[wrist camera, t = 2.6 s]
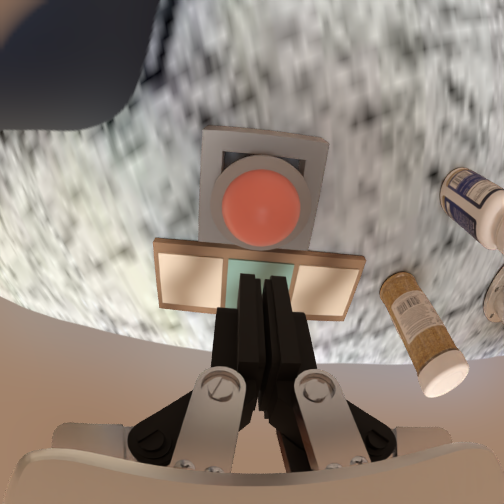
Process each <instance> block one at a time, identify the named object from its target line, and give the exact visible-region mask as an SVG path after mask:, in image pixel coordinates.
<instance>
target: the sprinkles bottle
mask: <svg viewBox="0 0 504 504" xmlns="http://www.w3.org/2000/svg"><path fill="white" fill-rule="evenodd" d="M380 298H381V300H382V301H383V303H384V304H385V306H386V308H387V310H388V312H389V314H390V317H391V319H392V321H393V323H394V326H395V328H396V330H397V332H398V334H399V336H400V338H401V339H402V341H403V343H404V345H405V347H406V349H407V351H408V354H409V356H410V358H411V360H412V362H413V365H414V367H415V369H416V371H417V376H418V382H419V384H420V386H421V389H422V391H423V393H424V394H425V396H427V397H437V396H440V395H443V394H445V393H447V392H449V391H450V390H452V389H454V388H455V387H456V386H457V385H459V384H460V383H461V382H462V381H463V380H464V379H465V377H466V375H467V374H468V371H469V365H468V363H467V361H466V359H465V357H464V355H463V354H462V352H461V351H460V350H459V349H458V348H457V347H456V346H455V344H454V342H453V340H452V338H451V336H450V335H449V333H448V331H447V329H446V327H445V325H444V324H443V322H442V320H441V319H440V317H439V316H438V314H437V312H436V311H435V309H434V308H433V306H432V304H431V303H430V301H429V300H428V298H427V297H426V295H425V294H424V293H423V292H422V290H421V289H420V287H419V286H418V284H417V283H416V280H415V278H414V277H413V275H412V274H410V273H406V272H400V273H397V274H394V275H393V276H391V277H390V278H388V279H387V280H386V281H385V282H384V284H383V285H382V288H381V290H380Z"/></svg>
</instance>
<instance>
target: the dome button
mask: <svg viewBox="0 0 504 504" xmlns="http://www.w3.org/2000/svg"><path fill="white" fill-rule="evenodd" d="M210 210H211V215H212V218H213V221H214V223H215V225H216V227H217V228H218V230H219V231H220V232H221V234H222V235H223V236H224V237H225V238H226V239H228V240H229V241H230V242H232V243H234V244H235V245H237V246H240V247H242V248H246V249H249V250H259V251H263V250H271V249H275V248H278V247H281V246H283V245H286V244H287V243H289V242H291V241H292V240H293V239H294V238H296V237H297V236H298V235H299V234H300V233H301V231H302V230H303V229H304V227H305V225H306V224H307V222H308V219H309V216H310V213H311V194H310V191H309V188H308V186H307V183H306V181H305V180H304V178H303V176H302V175H301V174H300V172H299V171H298V170H297V169H296V168H295V167H294V166H292V165H291V164H290V163H288V162H287V161H285V160H282V159H280V158H277V157H274V156H269V155H252V156H248V157H244V158H242V159H239V160H237V161H235V162H234V163H232V164H231V165H229V166H228V167H227V168H226V169H225V170H224V171H223V172H222V173H221V174H220V176H219V177H218V179H217V180H216V183H215V185H214V187H213V190H212V194H211V199H210Z"/></svg>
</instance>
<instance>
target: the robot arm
mask: <svg viewBox="0 0 504 504" xmlns="http://www.w3.org/2000/svg"><path fill="white" fill-rule="evenodd" d="M484 313H485V316H486V317H487V318H488V320H490V321H491V322H500V321H502V322H503V324H504V266H503V267H502V269H501V270H500V271H499V273H498V274H497V275H496V277H495V278H494V280H493V282H492V284H491V285H490V287H489V290H488V292H487V294H486V297H485V301H484ZM257 399H258V405H259V411H264V418H265V419H269V423H270V424H271V425H272V426H273V427H275V428H276V434H277V438H278V442H279V446H280V450H281V454H282V458H283V462H284V466H285V469H286V473H275V474H240V473H231V468H232V464H233V458H234V453H235V448H236V442H237V437H238V432H239V431H240V430H241V429H243V428H244V427H245V426H246V425H248V424H249V423H250V420H251V416H252V412H253V411H254V410H255V407H256V403H257ZM3 504H504V471H503V469H502V466H501V464H500V462H499V460H498V458H497V456H496V455H495V453H494V452H493V451H492V450H491V449H490V448H488V447H487V446H484V445H481V444H477V443H471V442H458V443H452V439H451V436H450V434H449V433H448V431H447V430H445V429H443V428H440V427H396V428H395V429H390V428H389V427H388V426H386V425H385V424H383V423H382V422H380V421H379V420H377V419H375V418H374V417H372V416H371V415H369V414H368V413H366V412H364V411H363V410H361V409H360V408H358V407H357V406H355V405H354V404H352V403H350V402H349V401H348V400H346V399H345V397H344V394H343V392H342V389H341V387H340V385H339V383H338V381H337V380H336V378H335V377H333V375H331V374H330V373H328V372H326V371H323V370H319V369H317V366H316V361H315V356H314V351H313V347H312V342H311V337H310V333H309V328H308V323H307V319H306V315H305V313H304V312H292V306H291V301H290V295H289V290H288V284H287V279H286V277H285V276H273V275H271V276H270V279H265V280H264V286H263V292H262V291H261V279H259V278H255V274H245V273H240V279H239V289H238V300H237V309H236V308H223V307H217V311H216V321H215V330H214V340H213V350H212V361H211V368H209V369H206V370H205V371H204V372H202V373H201V374H200V375H199V376H198V378H197V380H196V383H195V386H194V389H193V390H192V391H190V392H189V393H187V394H186V395H184V396H183V397H181V398H179V399H178V400H176V401H175V402H173V403H171V404H170V405H168V406H166V407H165V408H163V409H162V410H160V411H158V412H157V413H155V414H153V415H152V416H150V417H148V418H147V419H145V420H143V421H141V422H140V423H138V424H137V425H135V426H134V427H133V426H132V427H124V426H123V425H122V424H87V423H71V422H70V423H63V424H61V425H59V426H58V427H57V428H56V429H55V430H54V433H53V437H52V448H50V449H41V450H36V451H32V452H29V453H27V454H25V455H24V456H23V457H22V458H21V459H20V460H19V461H18V463H17V464H16V466H15V468H14V470H13V472H12V474H11V477H10V480H9V482H8V486H7V489H6V492H5V496H4V500H3Z"/></svg>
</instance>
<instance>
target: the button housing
mask: <svg viewBox="0 0 504 504" xmlns="http://www.w3.org/2000/svg"><path fill="white" fill-rule="evenodd" d="M328 149H329V143H328V142H326V141H325V140H324V139H322V138H320V137H314V136H307V135H301V134H294V133H286V132H278V131H270V130H261V129H251V128H240V127H227V126H212V125H208V126H207V127H205V128H204V129H203V135H202V152H201V172H200V197H199V235H198V241H199V242H211V243H223V244H234V243H232V242H230V241H229V240H228V239H226V238H225V237H224V236H223V235H222V234H221V232H220V231H219V230H218V228H217V227H216V225H215V223H214V221H213V218H212V215H211V210H210V199H211V194H212V190H213V187H214V185H215V183H216V180H217V179H218V177H219V176H220V174H221V173H222V172H223V171H224V158H225V151H226V152H239V153H250V154H260V155H269V156H278V157H286V158H294V159H299V166H298V171H299V172H300V174H301V175H302V176H303V178H304V180H305V181H306V183H307V186H308V188H309V191H310V194H311V213H310V216H309V219H308V222H307V224H306V225H305V227H304V229H303V230H302V231H301V233H300V234H299V235H298V236H297V237H296V238H294V239H293V240H292V241H291V242H289V243H287V244H286V245H283V246H281V247H278V248H280V249H291V250H302V251H308V248H309V244H310V239H311V235H312V230H313V226H314V221H315V216H316V211H317V206H318V202H319V197H320V192H321V186H322V181H323V176H324V171H325V165H326V160H327V154H328ZM234 245H235V244H234Z"/></svg>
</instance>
